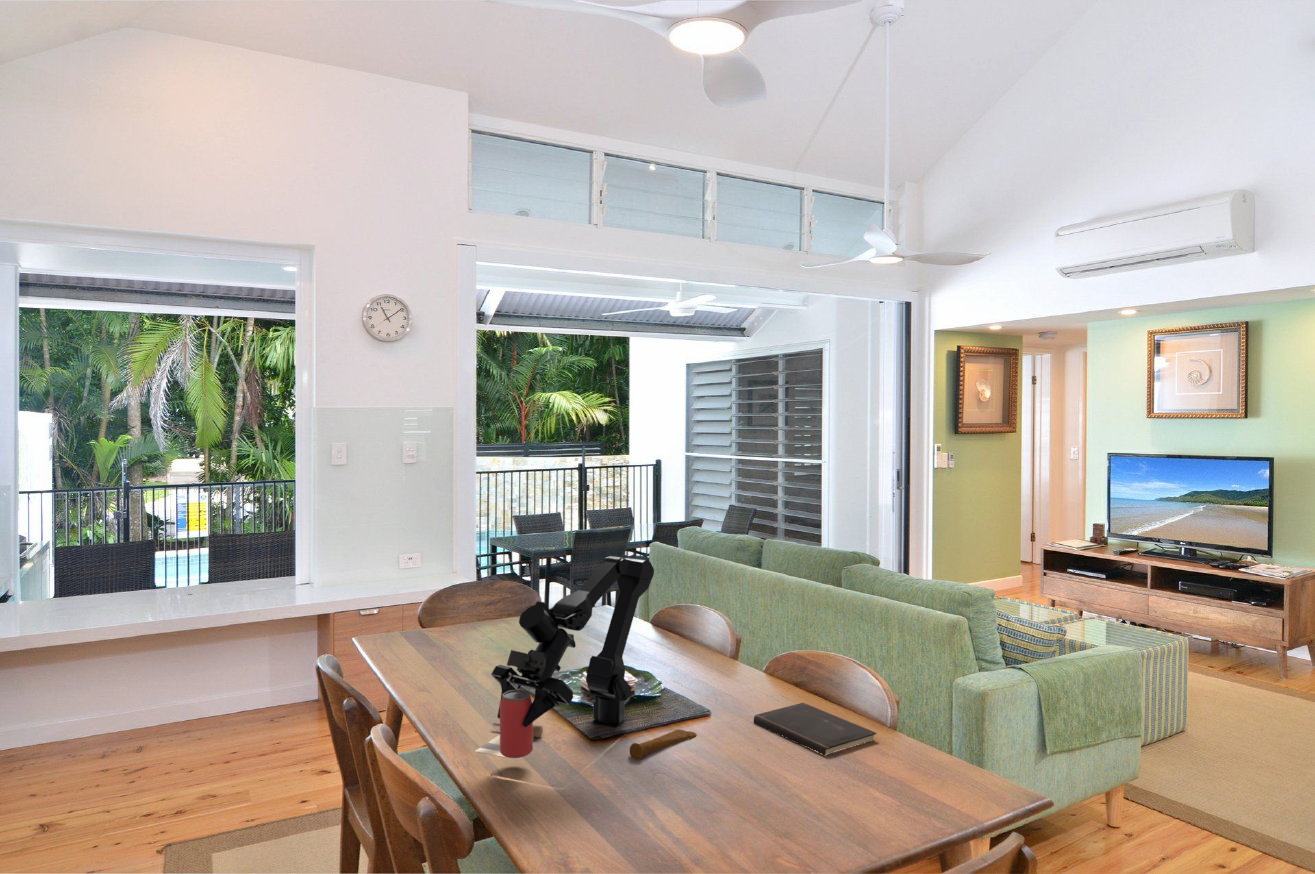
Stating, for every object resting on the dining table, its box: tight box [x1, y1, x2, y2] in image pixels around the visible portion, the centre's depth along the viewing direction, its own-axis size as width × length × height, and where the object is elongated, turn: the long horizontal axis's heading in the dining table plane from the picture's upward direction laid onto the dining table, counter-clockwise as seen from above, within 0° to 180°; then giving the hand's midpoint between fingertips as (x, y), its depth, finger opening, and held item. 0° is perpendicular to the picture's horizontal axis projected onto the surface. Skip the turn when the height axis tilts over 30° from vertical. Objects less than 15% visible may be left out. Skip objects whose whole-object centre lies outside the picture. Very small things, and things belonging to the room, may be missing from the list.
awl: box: [492, 722, 544, 738], centre depth 184 cm, size 12×2×2 cm, turn 68°
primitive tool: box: [629, 729, 698, 760], centre depth 178 cm, size 19×6×4 cm, turn 144°
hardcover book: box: [753, 702, 877, 756], centre depth 187 cm, size 16×23×2 cm
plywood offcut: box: [474, 734, 536, 758], centre depth 179 cm, size 8×15×1 cm, turn 158°
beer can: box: [499, 689, 534, 759], centre depth 166 cm, size 7×7×12 cm
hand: (511, 722), depth 165 cm, fingers closed on beer can, 7 cm apart
